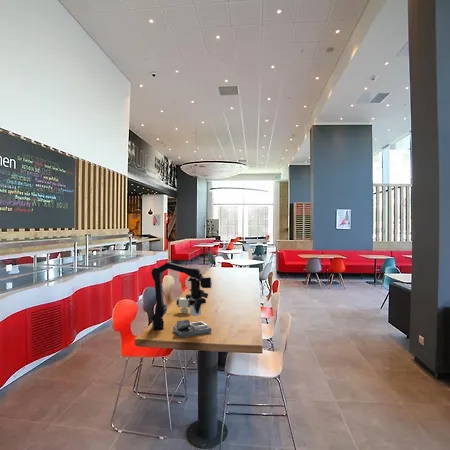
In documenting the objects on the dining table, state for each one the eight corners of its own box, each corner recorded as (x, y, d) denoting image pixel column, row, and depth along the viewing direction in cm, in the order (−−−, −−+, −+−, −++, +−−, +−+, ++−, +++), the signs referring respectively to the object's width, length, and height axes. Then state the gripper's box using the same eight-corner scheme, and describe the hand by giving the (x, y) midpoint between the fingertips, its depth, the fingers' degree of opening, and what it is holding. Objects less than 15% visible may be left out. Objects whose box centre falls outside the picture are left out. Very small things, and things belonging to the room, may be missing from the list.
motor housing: (179, 338, 184) (179, 324, 184) (171, 331, 196) (171, 318, 196) (211, 332, 194) (211, 319, 195) (201, 326, 207) (201, 314, 207)
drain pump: (193, 316, 196) (193, 305, 197) (190, 314, 201) (190, 303, 201) (200, 315, 199) (200, 304, 199) (197, 313, 203) (197, 302, 203)
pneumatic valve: (178, 311, 245) (178, 296, 245) (192, 312, 243) (192, 296, 243) (175, 313, 239) (176, 297, 239) (190, 314, 238) (190, 298, 238)
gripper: (213, 289, 196) (213, 313, 196) (200, 284, 212) (200, 307, 212) (197, 290, 191) (197, 316, 190) (185, 286, 207) (185, 309, 206)
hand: (195, 312), depth 200 cm, fingers closed on drain pump, 5 cm apart
